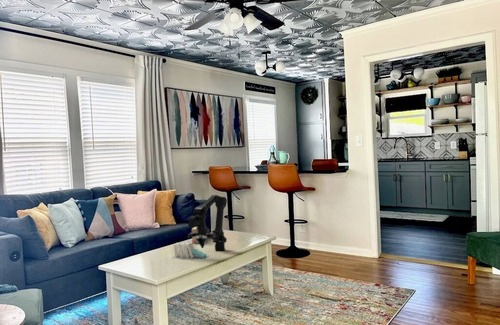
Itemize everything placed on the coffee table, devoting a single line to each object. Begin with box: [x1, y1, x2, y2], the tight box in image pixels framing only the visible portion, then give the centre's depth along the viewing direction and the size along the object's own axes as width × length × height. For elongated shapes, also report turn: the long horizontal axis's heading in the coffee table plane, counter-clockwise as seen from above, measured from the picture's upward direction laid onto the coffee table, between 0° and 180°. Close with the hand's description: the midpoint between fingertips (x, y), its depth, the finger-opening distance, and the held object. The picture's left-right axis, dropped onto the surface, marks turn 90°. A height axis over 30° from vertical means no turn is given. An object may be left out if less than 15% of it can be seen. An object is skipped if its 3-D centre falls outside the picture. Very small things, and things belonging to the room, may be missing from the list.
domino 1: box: [173, 242, 181, 257], centre depth 270 cm, size 2×5×9 cm, turn 158°
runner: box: [171, 255, 211, 261], centre depth 266 cm, size 26×10×1 cm, turn 68°
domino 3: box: [185, 242, 191, 258], centre depth 267 cm, size 2×5×9 cm, turn 159°
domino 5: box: [192, 248, 208, 258], centre depth 264 cm, size 2×5×9 cm
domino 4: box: [187, 242, 197, 258], centre depth 266 cm, size 2×5×9 cm, turn 158°
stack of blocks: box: [191, 227, 208, 245], centre depth 317 cm, size 21×6×12 cm, turn 169°
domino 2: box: [180, 242, 186, 257], centre depth 269 cm, size 2×5×9 cm, turn 158°
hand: (202, 247), depth 263 cm, fingers closed
